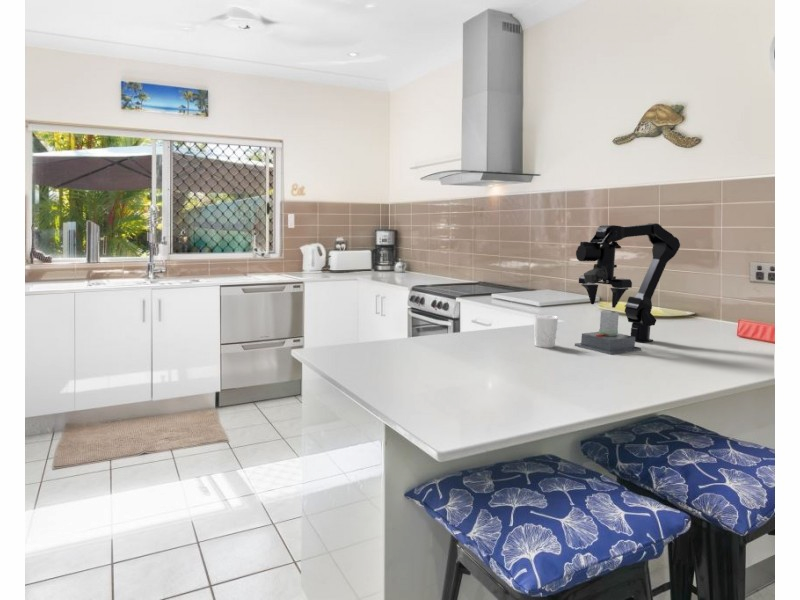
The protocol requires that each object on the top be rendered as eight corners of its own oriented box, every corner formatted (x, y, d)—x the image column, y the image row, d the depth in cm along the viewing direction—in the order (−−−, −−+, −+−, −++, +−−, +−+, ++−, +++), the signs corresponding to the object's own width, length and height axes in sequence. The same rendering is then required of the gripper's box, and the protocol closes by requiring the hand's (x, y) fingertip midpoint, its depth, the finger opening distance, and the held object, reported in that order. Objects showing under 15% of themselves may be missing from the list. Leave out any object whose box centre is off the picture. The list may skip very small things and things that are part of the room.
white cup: (557, 348, 188) (558, 319, 186) (532, 347, 189) (534, 318, 188) (555, 344, 195) (557, 315, 194) (532, 342, 197) (533, 314, 196)
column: (607, 333, 193) (608, 310, 192) (617, 335, 189) (619, 312, 188) (598, 334, 191) (600, 311, 190) (609, 336, 187) (610, 312, 186)
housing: (604, 342, 201) (605, 328, 200) (641, 350, 188) (642, 335, 187) (574, 345, 193) (575, 331, 193) (610, 354, 180) (611, 339, 180)
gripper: (568, 260, 201) (566, 303, 203) (611, 263, 185) (608, 310, 187) (590, 259, 206) (588, 302, 208) (634, 263, 190) (631, 308, 192)
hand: (602, 305), depth 199 cm, fingers open, 9 cm apart
